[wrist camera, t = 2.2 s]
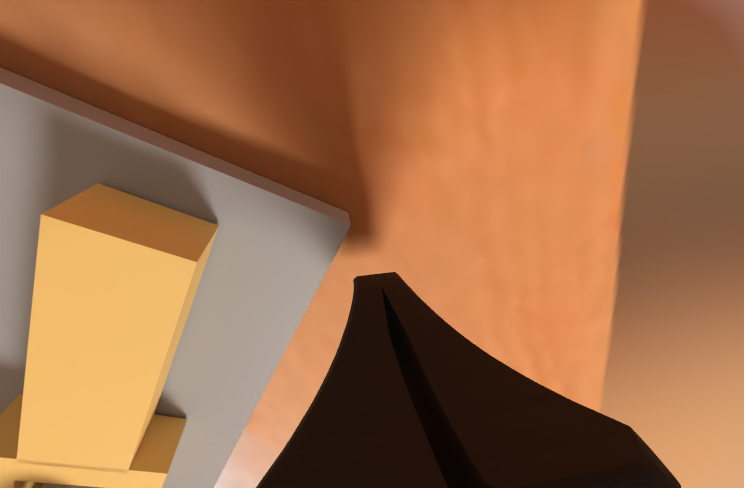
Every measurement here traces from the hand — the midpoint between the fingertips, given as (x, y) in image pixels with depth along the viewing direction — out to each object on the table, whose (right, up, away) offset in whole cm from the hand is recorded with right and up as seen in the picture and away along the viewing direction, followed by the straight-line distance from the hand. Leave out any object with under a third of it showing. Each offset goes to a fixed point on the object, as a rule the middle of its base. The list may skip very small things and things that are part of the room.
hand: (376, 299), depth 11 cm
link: (-9, -3, +1) cm, 10 cm away
